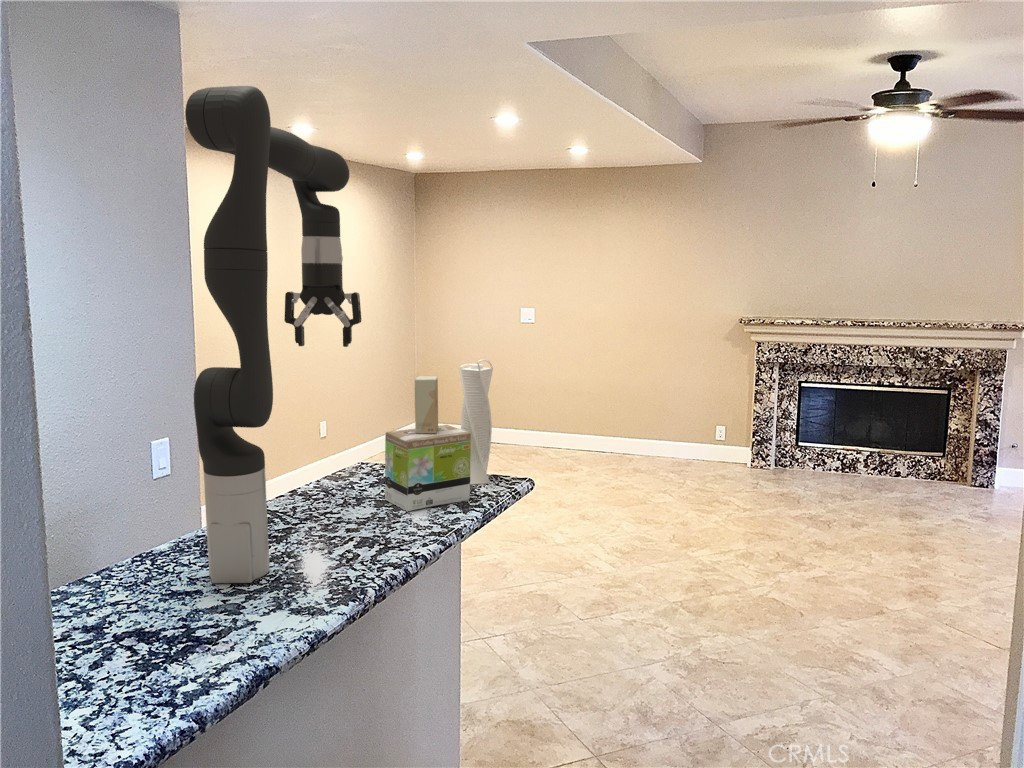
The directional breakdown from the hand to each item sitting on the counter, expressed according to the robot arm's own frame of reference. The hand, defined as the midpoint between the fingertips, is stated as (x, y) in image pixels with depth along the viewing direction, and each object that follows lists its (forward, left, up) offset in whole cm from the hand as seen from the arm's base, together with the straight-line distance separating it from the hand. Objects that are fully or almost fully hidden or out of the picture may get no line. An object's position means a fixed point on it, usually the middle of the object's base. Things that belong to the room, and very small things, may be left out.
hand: (323, 346), depth 160 cm
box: (+6, -19, -18) cm, 27 cm away
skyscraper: (+20, -29, -33) cm, 48 cm away
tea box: (+6, -19, -33) cm, 39 cm away
